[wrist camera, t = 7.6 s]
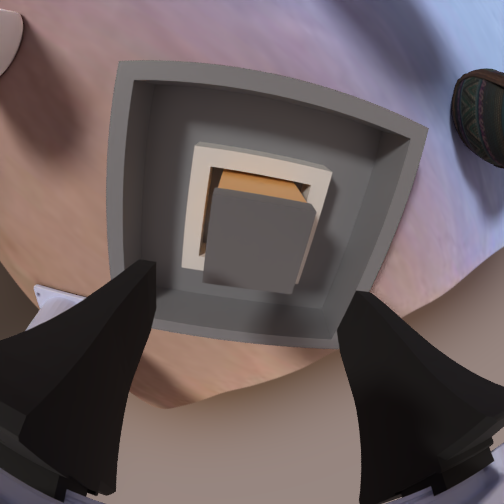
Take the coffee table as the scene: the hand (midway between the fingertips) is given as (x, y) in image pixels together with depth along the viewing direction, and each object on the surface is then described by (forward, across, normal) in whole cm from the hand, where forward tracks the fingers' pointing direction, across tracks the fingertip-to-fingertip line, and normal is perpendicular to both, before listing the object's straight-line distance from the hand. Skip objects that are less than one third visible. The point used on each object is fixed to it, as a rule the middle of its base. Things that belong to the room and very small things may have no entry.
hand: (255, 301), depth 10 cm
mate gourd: (+10, -15, -12) cm, 22 cm away
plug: (+9, 0, 0) cm, 9 cm away
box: (+9, 0, 0) cm, 9 cm away
